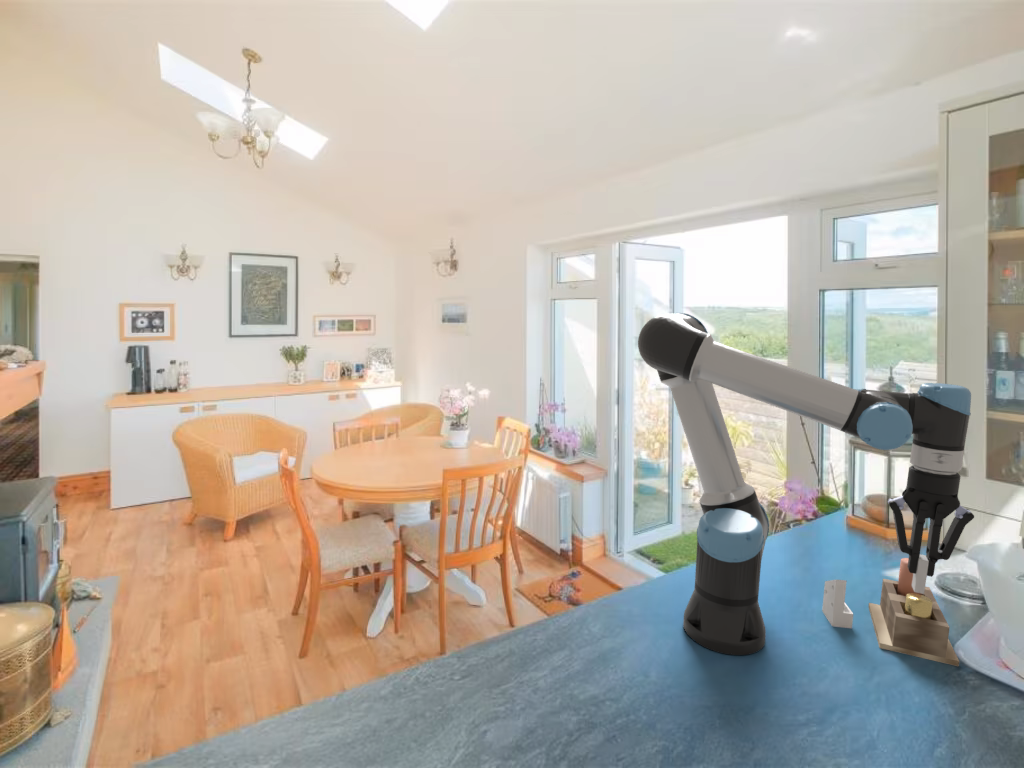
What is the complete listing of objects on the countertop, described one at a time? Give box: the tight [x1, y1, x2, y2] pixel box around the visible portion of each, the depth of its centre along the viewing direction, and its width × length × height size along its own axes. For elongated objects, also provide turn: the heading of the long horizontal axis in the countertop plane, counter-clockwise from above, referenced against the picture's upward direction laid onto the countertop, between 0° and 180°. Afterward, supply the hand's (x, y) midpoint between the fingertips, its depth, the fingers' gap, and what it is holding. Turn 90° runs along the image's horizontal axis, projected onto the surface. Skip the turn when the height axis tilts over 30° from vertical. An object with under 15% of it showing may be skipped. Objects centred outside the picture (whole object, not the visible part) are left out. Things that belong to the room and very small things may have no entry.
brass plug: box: [904, 593, 933, 619], centre depth 105 cm, size 4×4×8 cm
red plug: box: [897, 557, 922, 596], centre depth 111 cm, size 4×4×8 cm
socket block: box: [868, 578, 960, 667], centre depth 108 cm, size 12×16×7 cm
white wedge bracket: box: [821, 579, 854, 629], centre depth 113 cm, size 4×10×9 cm, turn 169°
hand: (917, 589), depth 104 cm, fingers closed
